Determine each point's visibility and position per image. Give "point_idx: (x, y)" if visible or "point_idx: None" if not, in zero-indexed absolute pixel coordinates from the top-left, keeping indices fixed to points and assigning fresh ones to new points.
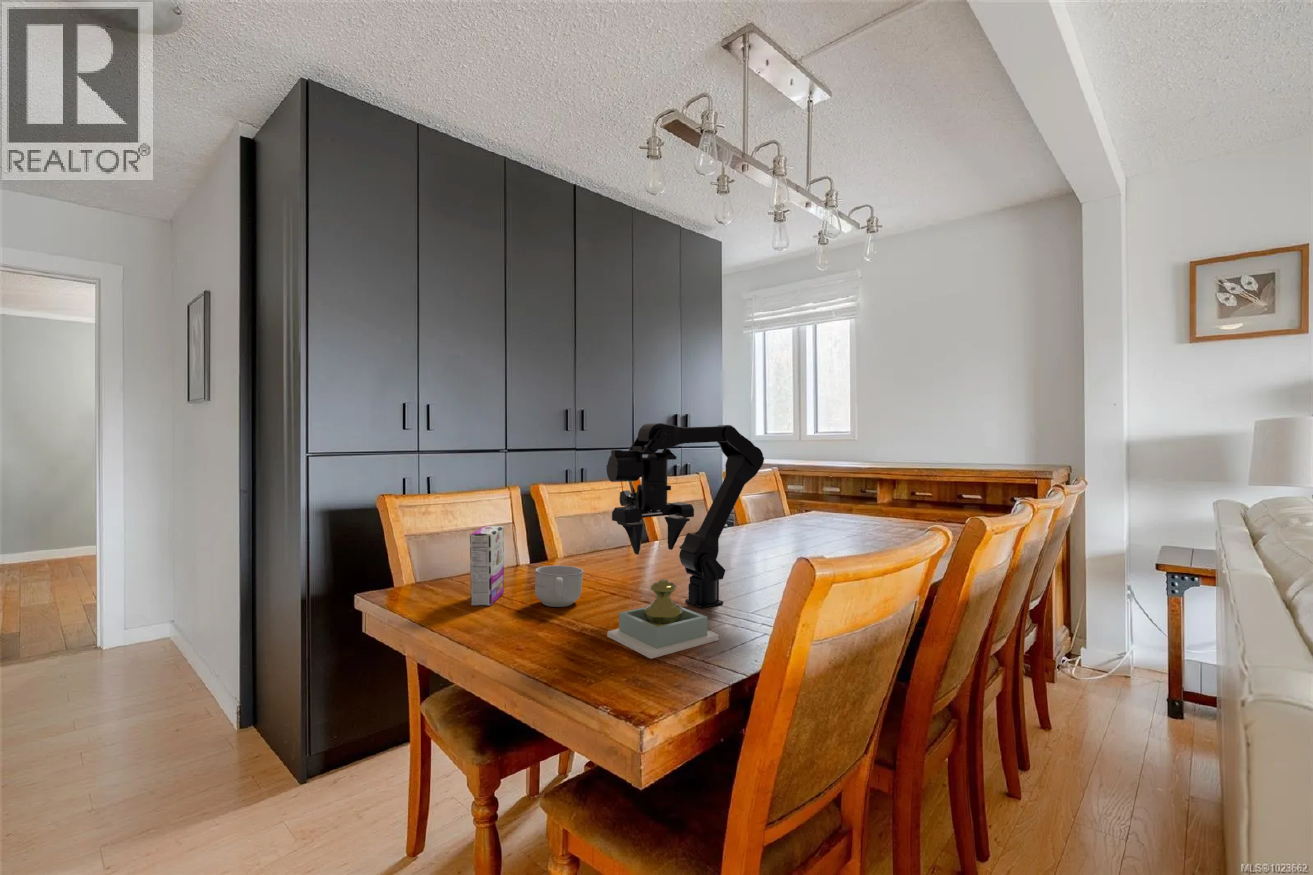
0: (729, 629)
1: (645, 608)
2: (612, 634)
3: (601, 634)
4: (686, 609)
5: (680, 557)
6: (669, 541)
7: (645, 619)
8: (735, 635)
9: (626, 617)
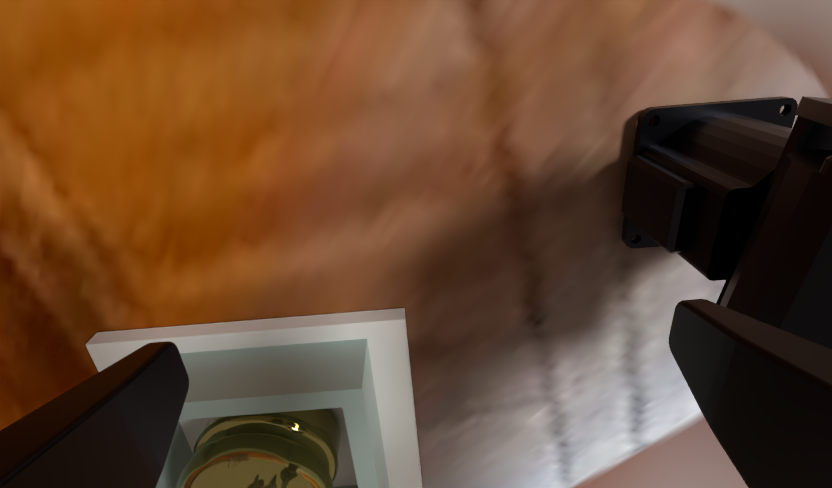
0: (514, 442)
1: (182, 486)
2: (99, 371)
3: (79, 302)
4: (372, 481)
5: (815, 184)
6: (740, 389)
7: (209, 431)
8: (490, 479)
9: None
